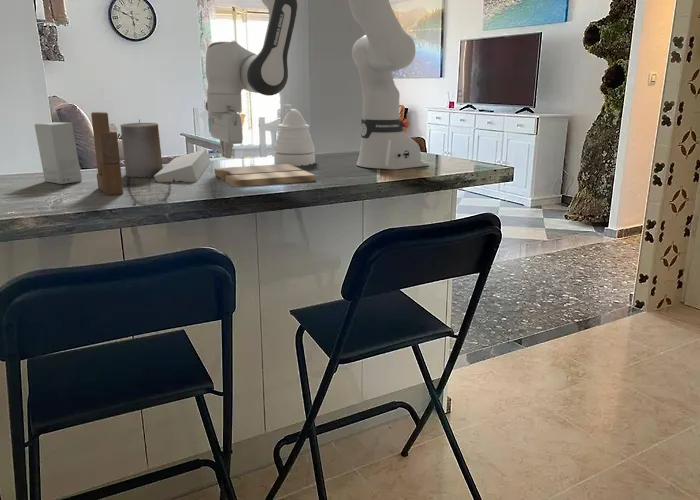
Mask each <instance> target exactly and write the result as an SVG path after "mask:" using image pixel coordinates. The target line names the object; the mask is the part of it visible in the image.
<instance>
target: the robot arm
mask: <svg viewBox="0 0 700 500" xmlns="http://www.w3.org/2000/svg"><path fill="white" fill-rule="evenodd" d="M261 2H262V3H263V5H264V6H265V7H266V8H267V10H268V15H269V17H268V18H269V19H268V23H267V28H266V33H265V36H264V40H263V45H262V48H261V50H260V51H259V52H258V53H257V54H256V53H255V52H252V51H250V50H248V49H246V48H244V47H243V46H242V45H240V44H239V43H238V42H237V41H236V40H232V39H228V40H222V41H221V40H220V41H215V42H212V43H210V44H209V45H208V46H207V48H206V54H205V77H206V79H207V90H206V98H207V99H206V102H205V110H206V111H207V116H208V125H209V133H210V136H211V137H212V138H214V139H216V140H219V147H220V150H221V157H223V158H224V159H232V157H233V156H232V155H233V153H232V152H233V146H234V145H241V144H243V140H244V139H243V138H244V137H243V123H242V117H241V115H240V113H242V112H243V108H242V107H243V106H242V91H243V90H245V91H247V92H251V93H255V94H256V93H257V94H261V95H263V96H267V97H269V96H274V95H277V94H279V93H281V92H282V91H283V90H284V88H285V87H286V85H287V81H288V78H289V68H288V55H289V50H290V44H291V41H292V35H293V32H294V27H295V22H296V19H297V18H296V17H297V11H298V6H299V3H300V0H261ZM347 2H348V4H349V8H350V13H351V15H352V18H353V19H354V20H355V22H356V23H357V24H358V25H359V27H360V28H361V29H362V32H363V33H364V35H363V36H361V37H360V38H358V39H357V40H356V41H355V42H354V44H353V46H352V48H351V57H352V60H353V62H354V64H355V65H356V68H357V70H358V73H359V80H360V84H361V90H362V118H361V120H360V121H361V122H360V136H361V141H360V148H359V154H358V158H357V162H356V166H358V167H361V168H369V169H385V170H400V169H402V170H403V169H410V168H420V167H427V166H429V162H428V161H426V160H424V159H422V151H421V148H420V145H419V144H418V143H417V142H416V141H415V140H414V139H412V137H410V136H409V135H408V134H407V133H406V132H404V128H408V129H409V127H410V126H411V123H410V121H408V120H403V121H402V120H401V119H400V91H399V89H398V88H397V86H396V84H395V81H394V76H393V72H397V71H400V70H402V69H405V68H406V67H408V66H410V65H411V64H412V62H413V61H414V59H415V57H416V45H415V41H414V40H413V38H412V37H411V36H410V35H409V34H408V33H407V32H406V30H404V28H403V27H402V25H401V23H400V22H399V19H398V18H397V16H396V14H395V12H394V10H393V9H392V6H391V3H390V0H347Z"/></svg>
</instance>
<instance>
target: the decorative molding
mask: <svg viewBox="0 0 700 500" xmlns="http://www.w3.org/2000/svg"><path fill="white" fill-rule="evenodd" d="M210 164H211V159H210V157H209V154H208V151H207V149H206V148H205V149H202V150H198V151H193V152H192V153H187V154H184V155H181V156H177V157H174V158H173V159H172V160H171V161H169V162H168V163H167V164H166V165H165V166H164V167H162V168H163V169H161V170H160V171H159V172H158V173H157V174H156V175H154V176H153V178H154V179H155V181H156V182H157V183H163V182H164V183H173V182H175V183H176V182H184V183H185V182H189V183H191V182H193V183H196V182H198V181H199V179H200V178H201V176H202V175H203V173H204V172H205V171H206V170H207V168H208V167H209V165H210Z"/></svg>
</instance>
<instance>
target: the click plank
mask: <svg viewBox="0 0 700 500" xmlns="http://www.w3.org/2000/svg"><path fill="white" fill-rule="evenodd" d="M289 171H303V169H301V168H300V167H298V166H293V165H291V164H279V165H278V164H265V165H251V166H249V165H248V166H232V167H216V168H215V167H214V175H215V176H217V177H218V178H220V179H221V180H222V181H225V182H226V180H225V176H227V175H242V174H258V173H273V172H289Z"/></svg>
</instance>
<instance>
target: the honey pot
mask: <svg viewBox="0 0 700 500" xmlns="http://www.w3.org/2000/svg"><path fill="white" fill-rule="evenodd" d="M282 105H283V110H285V111H286V112H287V113H286V114H285V117H284V118H283V120H282V123H280V124H279V123H278V124H277V128H278V129H279V131H278V133H277V136H276V140H275V143H274V146H273V147H274V148H273V149H274V150H273V151H274V152H273V158H274V162H273V163H274V165H279V164H291V165H293V166H295V167H302V166H301V165H303V166H310V165H309V164H311V165H314V164H315V163H316V161H315V160H316V159H315V158H316V154H315V151H316V150H315V144H314V143H313V138H312V135H311V132H310V131H309V129H310V124H307V122H306V120H305V119H304V117H303V115H302V113H301V112H300V111H299V110H298V109H297V108H292V104H282ZM313 163H314V164H313Z"/></svg>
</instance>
